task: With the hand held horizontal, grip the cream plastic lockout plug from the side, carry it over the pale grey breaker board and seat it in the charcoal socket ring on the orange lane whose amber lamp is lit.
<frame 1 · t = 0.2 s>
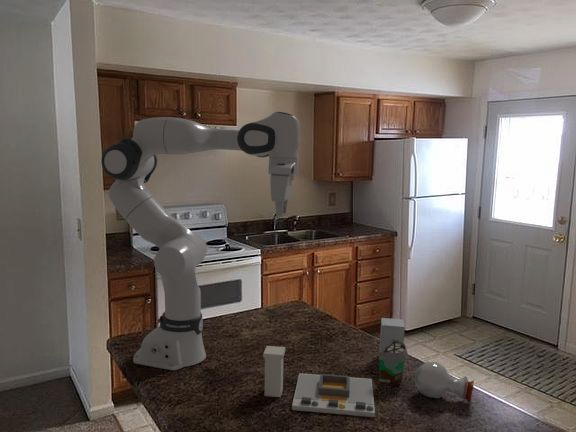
hand: (281, 215, 139), 47 cm above the countertop, tool pointing down, fingers open, 8 cm apart
lockout plug: (273, 392, 129), on the countertop
potion bottle: (442, 398, 128), on the countertop
breaker board: (333, 395, 128), on the countertop
food container: (394, 380, 137), on the countertop
supplement box: (390, 360, 151), on the countertop
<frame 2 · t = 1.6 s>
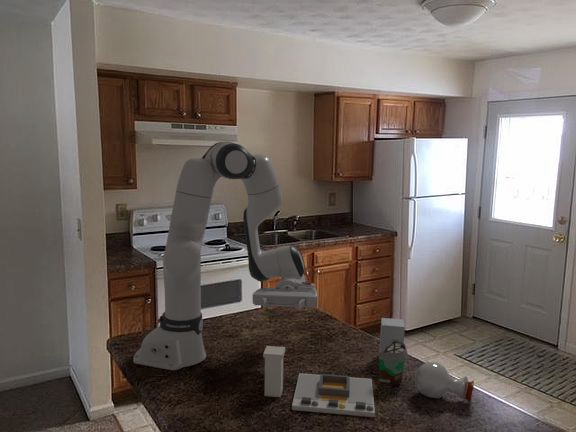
hand: (281, 306, 138), 21 cm above the countertop, tool horizontal, fingers open, 8 cm apart
nothing on the countertop moved.
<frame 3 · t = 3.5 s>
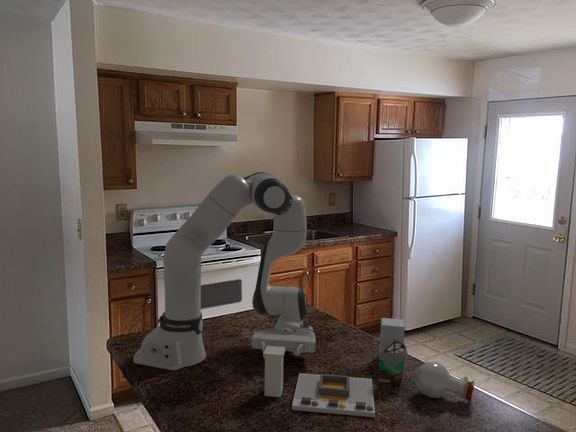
hand: (280, 351, 140), 7 cm above the countertop, tool horizontal, fingers open, 8 cm apart
nothing on the countertop moved.
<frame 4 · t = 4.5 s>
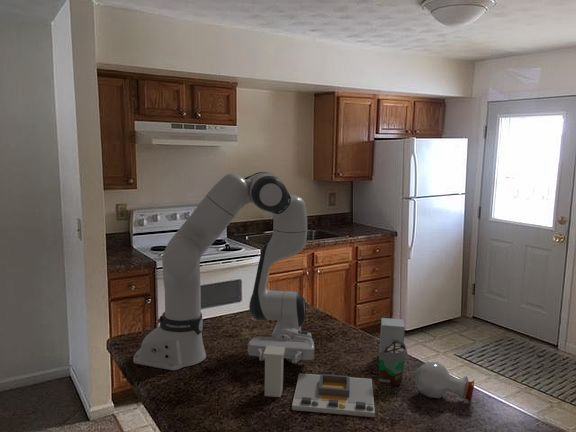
hand: (277, 359, 135), 6 cm above the countertop, tool horizontal, fingers open, 8 cm apart
nothing on the countertop moved.
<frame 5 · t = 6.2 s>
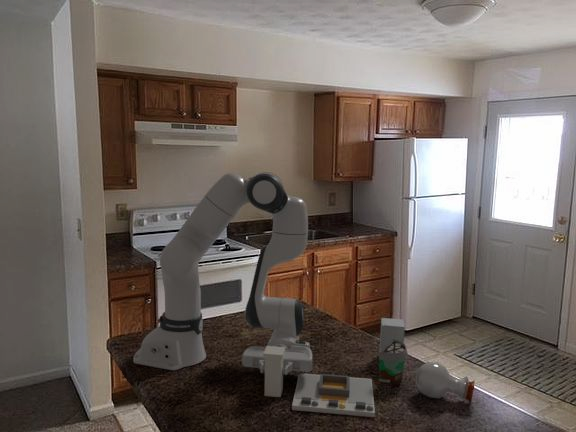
hand: (273, 371, 127), 7 cm above the countertop, tool horizontal, fingers closed on lockout plug, 4 cm apart
lockout plug: (273, 392, 129), on the countertop, touching gripper
everything else where it was.
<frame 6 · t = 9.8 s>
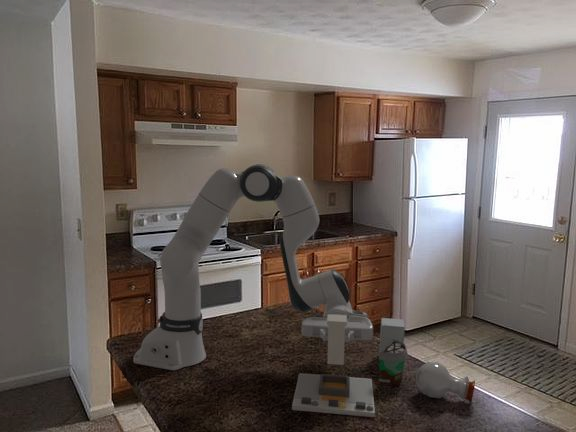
hand: (336, 339, 126), 16 cm above the countertop, tool horizontal, fingers closed on lockout plug, 4 cm apart
lockout plug: (335, 360, 128), point 9 cm above the countertop, touching gripper
everything else where it was.
when the fingers open (9 cm above the countertop, at t = 11.3 s): lockout plug drops 1 cm, resting on breaker board.
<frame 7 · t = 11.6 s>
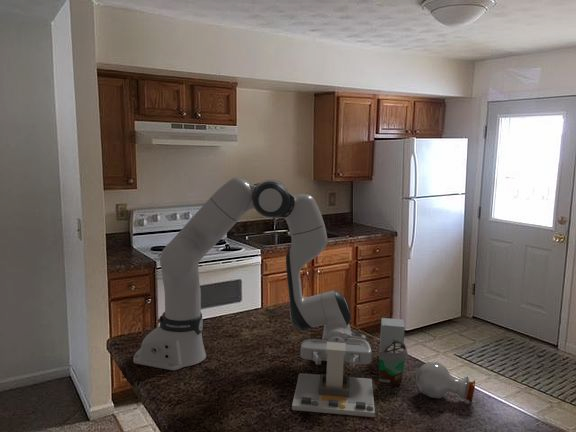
hand: (335, 363, 127), 9 cm above the countertop, tool horizontal, fingers open, 8 cm apart
lockout plug: (334, 388, 129), point 1 cm above the countertop, touching breaker board
everything else where it was.
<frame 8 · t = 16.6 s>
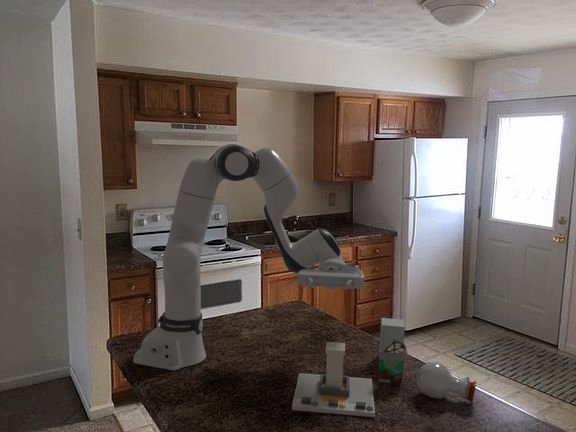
hand: (329, 286, 134), 28 cm above the countertop, tool horizontal, fingers open, 8 cm apart
nothing on the countertop moved.
at the end: lockout plug 0.1 cm from the target spot on the breaker board, point 1.3 cm above the breaker board's base; lockout plug tilted 0°; the gripper is holding nothing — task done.
